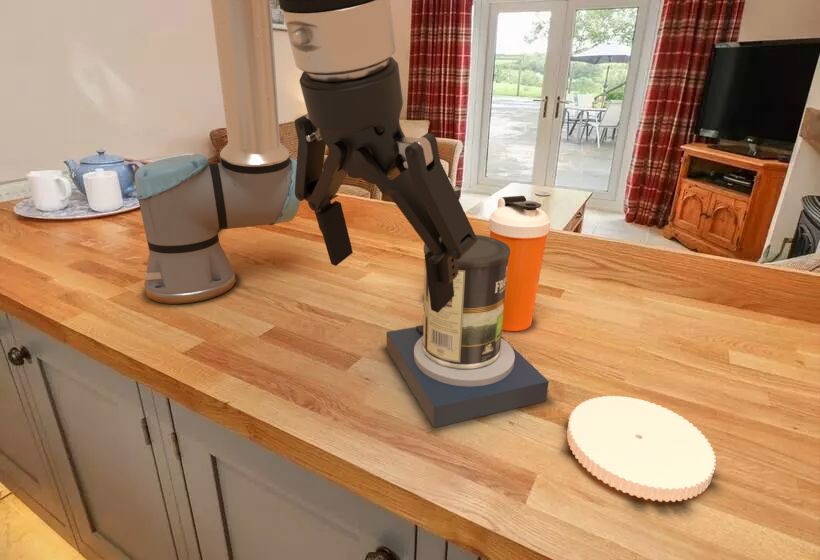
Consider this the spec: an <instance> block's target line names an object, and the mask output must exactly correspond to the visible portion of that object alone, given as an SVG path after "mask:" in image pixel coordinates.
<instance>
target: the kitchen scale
mask: <svg viewBox="0 0 820 560" xmlns="http://www.w3.org/2000/svg"><path fill="white" fill-rule="evenodd" d="M423 326H424V324H421V325H416V326H413V327H407V328H402V329H395V330H389V331H386V351H387V353H388V354H389V356H390V357H391V359H392V361H393V363H394V364H395V366H396V368H397V369H398V372H400V374H401V376H402V378H403V379H404V381H405V383H406V385H407V386H408V387H409V389H410V391H411V392H412V395H413V396H414V398H415V399H416V401H417V403H418V404H419V406H420V408H421V409H422V411H423V413H424V415H425V417H426V418H427V419H428V421H429V423H430V425H431V426H432V428H433V429H437V428H439V427H444V426H448V425H453V424H457V423H461V422H465V421H469V420H470V421H471V420H473V419H477V418H481V417H486V416H490V415H494V414H499V413H502V412H508V411H510V410H516V409H520V408H523V407H528V406H532V405H536V404H540V403H544V402H547V397H548V390H549V385H550V384H549V383H550V381H549V380H548V379H547V378H546V377H545V376H544V374H542V373H541V372H540V371H539V370H538V369H536V367H534V365H532V364H531V363H530V362H529V360H527V359H526V358H525V357H524V356H523V355H522V354H521V353H520V352H519V351H518V350H517V349H516V348H514V347H513V346H512V344H510V343H509V342H508V341H507V340H506V338H504V337H503V336H502V335H501V344H500V348H501V352H500V355H499V357H498V358H497V360H495V361H494V362H493V363H491V364H489V365H487V366H484V367H480V368H475V369H456V368H450V367H446V366H443V365H440V364H438V363H436V362H434V361H432V360H430V359H429V358H428V357H427V356H426V355H425V353H424V351H423V348H422V345H423Z"/></svg>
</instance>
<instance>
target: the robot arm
mask: <svg viewBox="0 0 820 560" xmlns="http://www.w3.org/2000/svg"><path fill="white" fill-rule="evenodd" d="M278 3H279V7H280V9H281V11H282V15H283V19H284V23H285V28H286V32H287V35H288V39H289V43H290V48H291V51H292V55H293V59H294V64H295V66H296V68H298V70H300V71H302V73H301V76H300V78H299V84H300V85H299V86H300V90H301V93H302V96H303V100H304V104H305V109H306V113H305V114H303V115H301V116H300V117H298V118H296V119H294V127H295V132H296V137H297V152H296V153H297V156H296V159H294V158H291V156H290V151H289V149H288V148H287V147H286V146H285V145H283V144H282V143H281V139H280V138H281V137H280V123H279V105H278V91H277V89H278V88H277V75H276V57H275V41H274V28H273V11H272V0H210V4H211V12H212V20H213V30H214V37H215V46H216V54H217V62H218V70H219V78H220V88H221V95H222V104H223V112H224V120H225V129H226V137H227V144H226V145H225V146H224V147H223V148H222V149H220V152H219V157H220V162H212V163H209V160H208V158H207V157H206V155H204V154H185V155H179V156H171V157H166V158H163V159H159V160H154V161H151V162H148V163H146V164H144V165H141V166H140V167H139V168H138V169H137V170H136V171H135V173H134V185H135V190H136V195H135V197H136V200H138V205H139V209H140V214H141V218H142V223H143V228H144V233H145V238H146V242H147V247H148V259H147V265H146V272H145V273H144V275H145V279H144V289H145V293H146V296H147V297H148V298H149V299H150V300H152V301H155V302H157V303H162V304H173V305H175V304H178V305H179V304H189V303H190V304H191V303H196V302H202V301H206V300H209V299H213V298H215V297H218V296H221V295H222V294H225V293H227V292H228V291H230V290H231V289H232V288H233V287H234V286H235V284H236V281H237V280H236V274H235V270H234V267H233V266H232V264H231V262H230V261H229V258H228V256H227V255H226V253H225V250H224V249H223V247H222V245H221V243H220V238H219V231H222V230H230V229H231V230H232V229H239V228H240V229H241V228H250V227H258V226H259V227H261V226H270V227H271V226H275V225H277V224H285V223H289V222H291V221H293V220H294V219H296V216H297V215H298V213H299V210H300V204H301V202H303V201H304V200H305V201H306V202H307V204H308V207H309V208H310V210H312V211H313V212H314V215H315V217H316V222H317V224H318V228H319V230H320V232H321V234H322V237H323V240H324V244H325V249H326V251H327V254H328V258H329V262H330V265H333V266H335V267H337V266H338V265H339V264H341V263H342V262H343V261H345V260H346V259H347V258H348V257H350V256H351V255H352V254H353V253H354V251H353V248H352V247H353V246H352V244H351V240H350V239H351V238H350V235H349V231H348V227H347V223H346V218H345V215H344V210H343V206H342V203H341V201H337V200H334V199H336V198H337V197H338V196H339V195H338V192H339V189H340V188H341V186H342V184H343V182H344V181H345V179H346V178H347V177H349V178H353V179H360V180H363V181H365V182H367V183H369V184H372V185H375V186H376V187H377V189H378V190H379V192H380V193H381V194H382V195H384V196H389V197H390V198H391V200H392V201H393V202H394V203H395V205H396V207H397V208H398V209H399V210H400V212H401V213H402V215H403V216H404V217H405V218H406V220H407V221H408V223H409V224H410V225H411V227H412V228H413V230H414V231H415V233H416V234H417V235H418V236H419V238H420V239H421V241H422V242H423V244H426V246H427V247H428V249H429V250H430V251H429V252H428V253H427V254H426V255H425V254H424V265H425V264H426V272H427V279H428V287H429V295H430V303H431V310H433V311H435V312H437V313H438V312H439V311H440V310H441V309H442V308H443V307H444V306H445V305H446V304H447V303H448V302H449V301H450V300H451V299H452V298H453V297H454V287H453V280H454V279H455V278H456V277H457V275H458V265H457V264H458V261H457V260H458V259H460V258H461V257H462V256H463V255H464V254H465V253H466V252H467V251H468V250H469V249H471V248H472V247H473V246H474V245H475V244H476V242H477V237H476V235H477V234H476V233H475V231H474V229H473V227H472V225H471V222H470V221H469V218H468V217H467V214H466V212H465V210H464V208H463V206H462V204H461V202H460V199H459V200H458V197H457V195H456V193H455V191H454V189H453V187H454V186H453V185H452V183H451V181H450V179H449V175H447V172H446V170H445V168H444V166H443V164H442V162H441V157H440V152H439V146H438V140H437V138H436V136H435V135H434V134H432V133H431V132H426V133H425V134H423V135H422V136H420V137H419V138H417V137H407V136H406V135H405V134H404V131H403V129H402V126H401V123H400V118H401V113H402V109H403V105H404V99H403V90H402V82H401V76H400V75H401V74H400V68H399V63H398V61H396V60H395V58H394V57H393V55H394V54H395V53H396V51H397V48H398V47H397V42H396V34H395V27H394V21H393V20H394V19H393V14H392V7H391V0H278ZM326 147H327V148H328V151H327V153H328V154H327V155H325V154H326ZM325 156H326V158H325ZM396 168H397V170H398V171H399V174H398V175H396V176H395V177H394V178H392V179H391V178H389V177H390V176H391V175H392V174H393V173H394V172H395V170H396ZM452 186H453V187H452ZM332 200H334V201H333V202H331V201H332ZM440 237H441V238H442V240H441V241H439V238H440Z"/></svg>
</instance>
